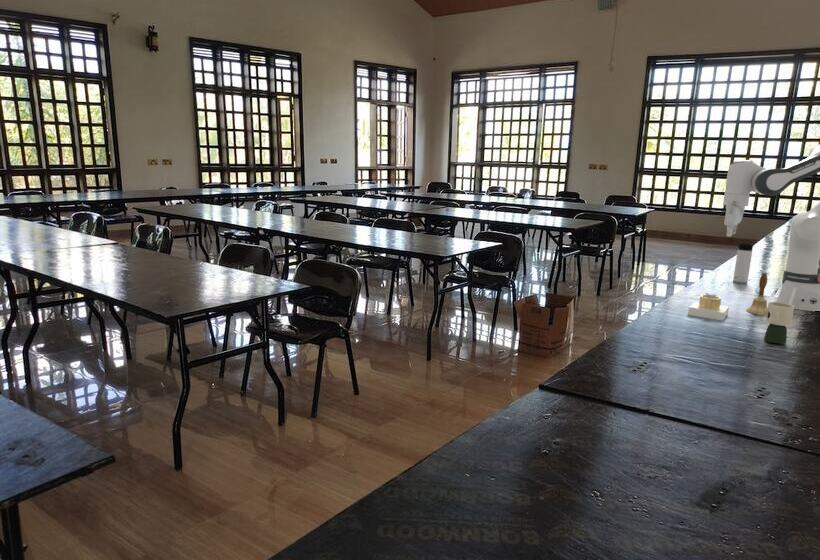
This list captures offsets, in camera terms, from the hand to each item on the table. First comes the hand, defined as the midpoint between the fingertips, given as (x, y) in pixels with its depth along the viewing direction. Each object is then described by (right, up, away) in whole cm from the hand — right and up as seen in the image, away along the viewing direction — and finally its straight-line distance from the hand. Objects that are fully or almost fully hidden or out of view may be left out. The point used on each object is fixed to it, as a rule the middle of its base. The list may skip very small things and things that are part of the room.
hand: (730, 235), depth 235 cm
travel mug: (+34, -20, +53) cm, 66 cm away
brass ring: (-15, -29, -12) cm, 35 cm away
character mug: (-11, -39, -45) cm, 61 cm away
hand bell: (+8, -31, -5) cm, 33 cm away
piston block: (-15, -32, -12) cm, 37 cm away
